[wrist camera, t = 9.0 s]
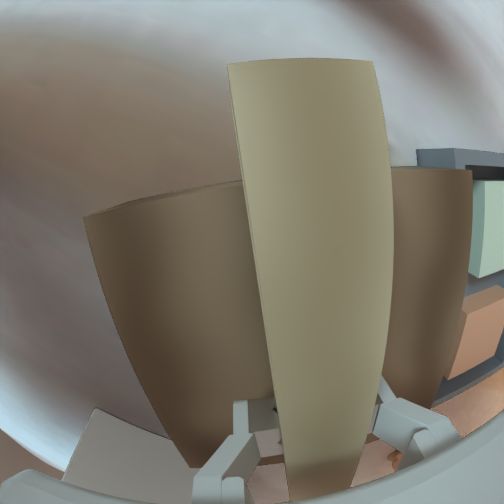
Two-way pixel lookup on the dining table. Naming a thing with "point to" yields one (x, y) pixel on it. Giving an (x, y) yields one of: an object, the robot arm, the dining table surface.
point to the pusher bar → (318, 251)
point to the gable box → (129, 463)
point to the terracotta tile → (477, 330)
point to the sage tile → (487, 227)
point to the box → (481, 167)
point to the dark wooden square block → (248, 299)
